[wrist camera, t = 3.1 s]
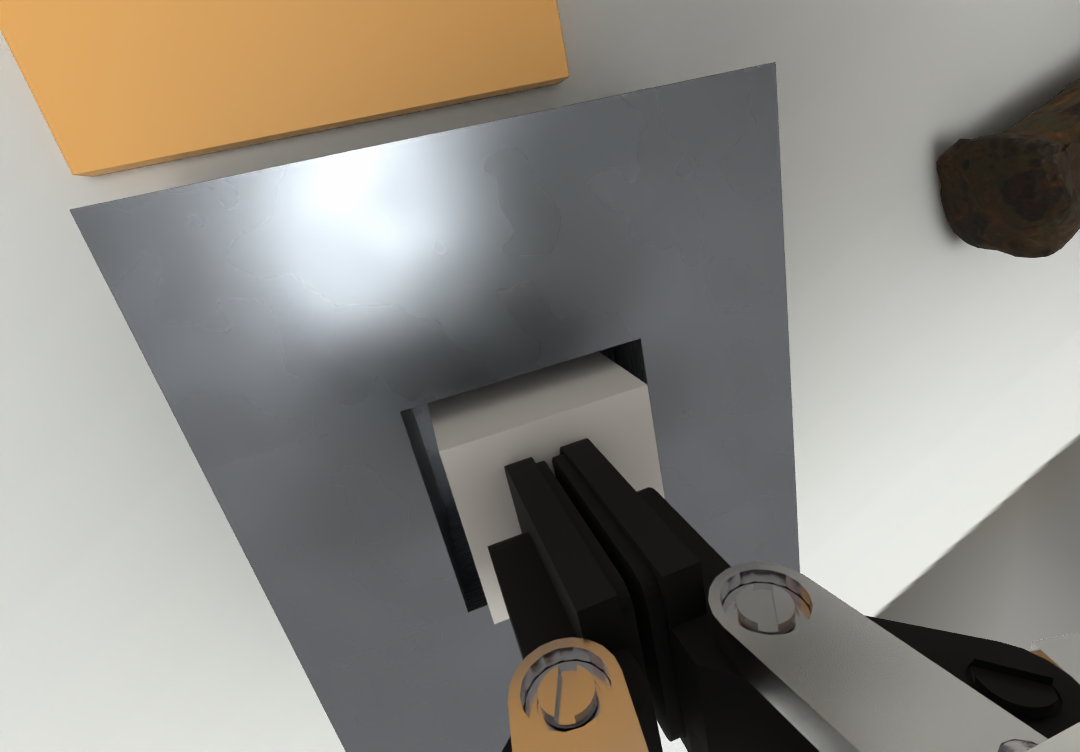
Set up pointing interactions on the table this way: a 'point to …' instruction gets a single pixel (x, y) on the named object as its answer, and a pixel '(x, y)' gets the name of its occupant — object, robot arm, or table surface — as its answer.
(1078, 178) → the hand tool
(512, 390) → the button
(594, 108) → the breaker box
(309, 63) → the pad
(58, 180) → the table surface
